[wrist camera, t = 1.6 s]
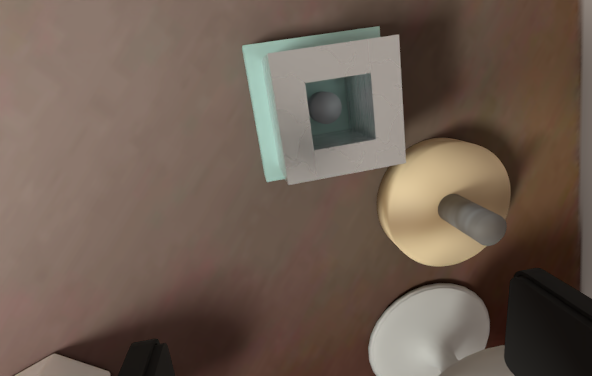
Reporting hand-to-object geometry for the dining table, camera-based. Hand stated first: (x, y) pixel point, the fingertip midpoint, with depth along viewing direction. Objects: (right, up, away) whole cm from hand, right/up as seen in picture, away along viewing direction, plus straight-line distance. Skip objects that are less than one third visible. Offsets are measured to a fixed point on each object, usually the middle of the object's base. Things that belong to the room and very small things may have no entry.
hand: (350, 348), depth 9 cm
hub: (+10, +3, +20) cm, 23 cm away
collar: (0, +10, +15) cm, 18 cm away
